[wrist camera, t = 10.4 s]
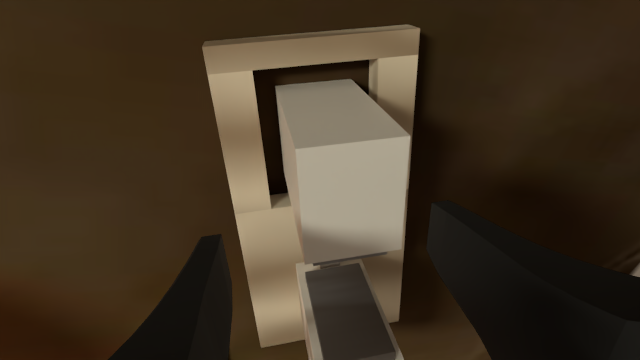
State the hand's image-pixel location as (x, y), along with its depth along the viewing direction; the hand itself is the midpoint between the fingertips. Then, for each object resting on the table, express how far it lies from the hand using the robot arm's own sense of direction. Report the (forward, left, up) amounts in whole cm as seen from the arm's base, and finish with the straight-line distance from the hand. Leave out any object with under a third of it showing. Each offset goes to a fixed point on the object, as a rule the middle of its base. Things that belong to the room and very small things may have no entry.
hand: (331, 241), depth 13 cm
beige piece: (-5, -1, -9) cm, 11 cm away
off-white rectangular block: (0, -1, -9) cm, 9 cm away
